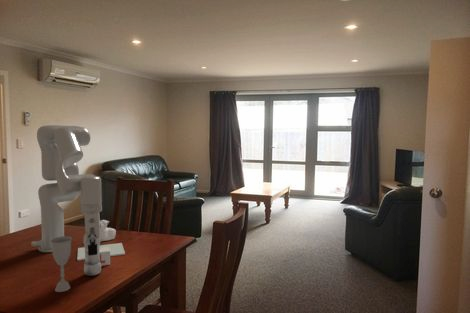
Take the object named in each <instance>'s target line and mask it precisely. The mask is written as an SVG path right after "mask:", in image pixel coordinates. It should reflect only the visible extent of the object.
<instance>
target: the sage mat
mask: <svg viewBox="0 0 470 313" xmlns="http://www.w3.org/2000/svg"><path fill="white" fill-rule="evenodd" d="M102 247H109V248H110V257H115V256H116V257H117V256H122V255H123V256H125V255H126V251H125V249H124V246H123V243H122V242H119V243H109V244H102V245H101V244H100V248H102ZM76 259H77V262H78V261H85V247H84V246H83V247H78V248H77V257H76Z"/></svg>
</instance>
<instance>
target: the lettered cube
mask: <svg viewBox="0 0 470 313" xmlns="http://www.w3.org/2000/svg"><path fill="white" fill-rule="evenodd" d="M99 255H100V262H101V267H102V266H103V267H104V266H108V265H109V266H111V256H110V248H109V247H102V248H100V249H99Z"/></svg>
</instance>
